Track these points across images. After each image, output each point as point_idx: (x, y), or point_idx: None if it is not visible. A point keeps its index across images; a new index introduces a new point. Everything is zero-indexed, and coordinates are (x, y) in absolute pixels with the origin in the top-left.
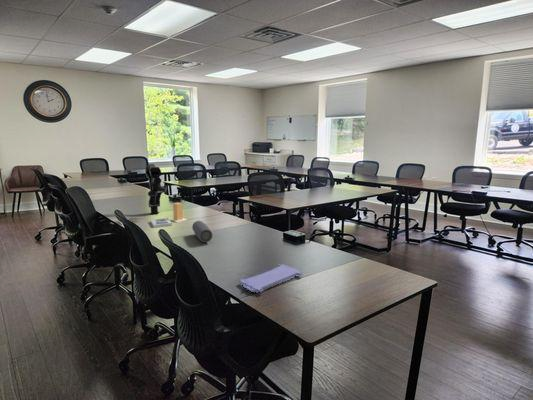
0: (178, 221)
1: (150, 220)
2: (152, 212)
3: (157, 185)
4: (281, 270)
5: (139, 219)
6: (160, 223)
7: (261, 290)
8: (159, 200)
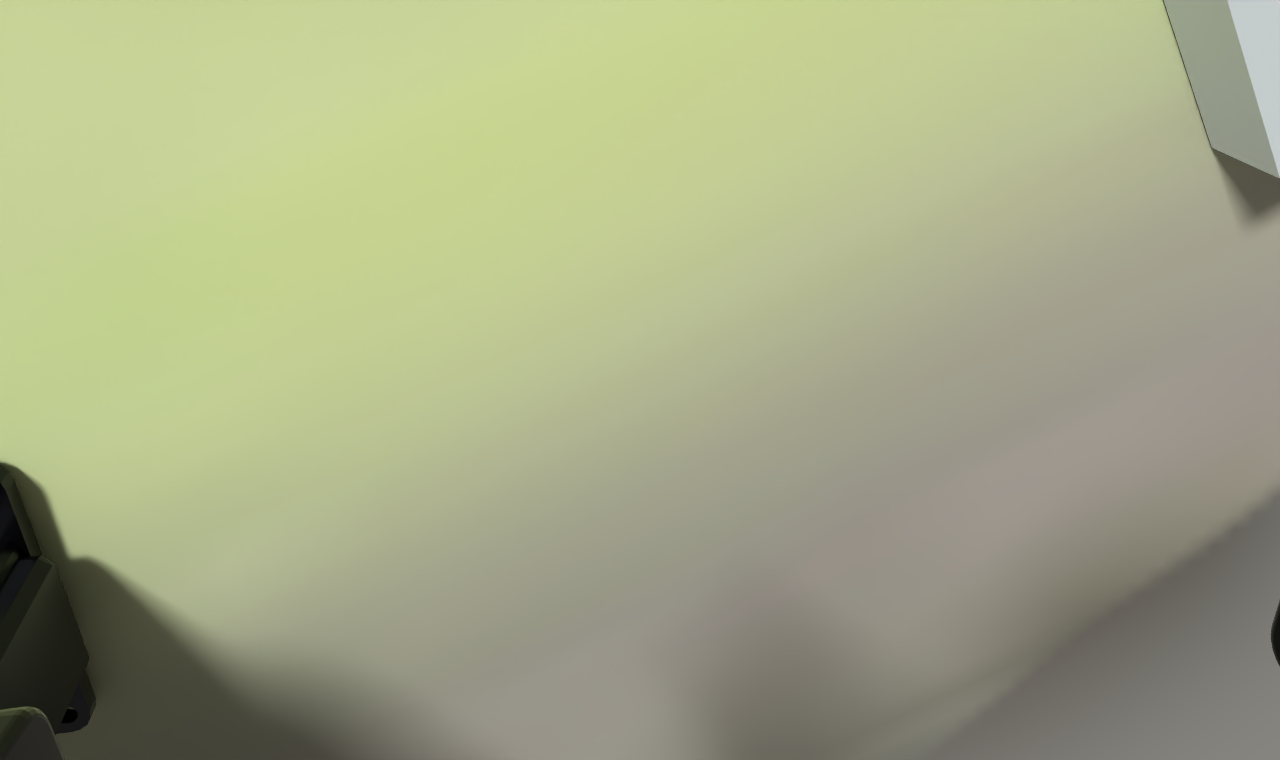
0: None
1: (1260, 156)
2: (58, 653)
3: None
4: None
5: (865, 641)
6: None
7: None
8: (1, 735)
